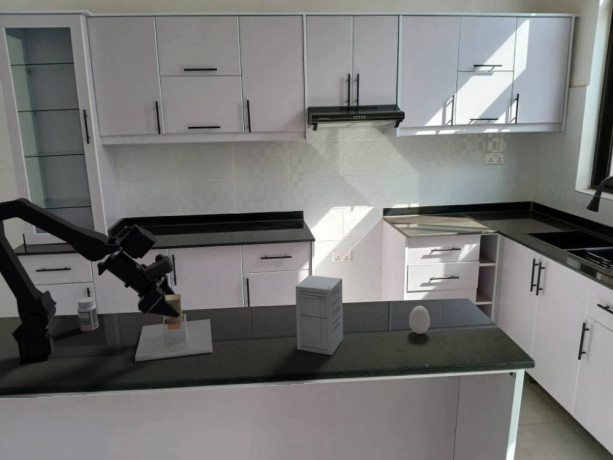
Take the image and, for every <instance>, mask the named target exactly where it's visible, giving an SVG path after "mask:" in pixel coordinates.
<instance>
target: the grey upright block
mask: <svg viewBox="0 0 613 460" xmlns="http://www.w3.org/2000/svg"><path fill="white" fill-rule="evenodd" d="M295 306H296V307H295V312H296V313H295V315H296V347H297V350H300V351H304V352H305V351H306V352H310V353H319V354H322V355H323V354H324V355H330V356H332V355H333V354H334V352H335V351H337V348H338V347H339V345H340V344H341V343H342V341H344V331H343V330H344V329H343V325H344V324H343V323H344V322H343V316H344V315H343V310H344V309H343V278H339V277H329V276H323V275H310V274H309V275H308V276H306V277H305V278H303V280H301V281H300V282H299V283H297V285H296V286H295Z"/></svg>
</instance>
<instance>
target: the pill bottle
mask: <svg viewBox="0 0 613 460" xmlns="http://www.w3.org/2000/svg"><path fill="white" fill-rule="evenodd" d="M77 305H78V307H77V315H78V323H79V324H78V325H79V329H80V331H82V332H89V331H94V330H96V329H97V328H99V320H98V319H99V318H98V310H97V305H96V304H95V299H94V297H88V296H87V297H81V298H80V299H78V300H77Z"/></svg>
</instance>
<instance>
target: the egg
mask: <svg viewBox="0 0 613 460" xmlns="http://www.w3.org/2000/svg"><path fill="white" fill-rule="evenodd" d="M408 320H409V321H408V324H409V327H410V329H411V330H412V331H413V332H414V334H415V333H416V334H418V335H421V334H425V332H427V331H428V329H429V327H430V324H431V317H430V313H429V312H428V310H427V308H425V307H424V306H422V305H417V306H414V307H413V309H412V310H411V312H410V314H409V317H408Z"/></svg>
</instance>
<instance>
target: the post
mask: <svg viewBox="0 0 613 460" xmlns="http://www.w3.org/2000/svg"><path fill="white" fill-rule="evenodd" d="M165 297H166V300H167V301H168V302H169V303H170V304H171V305H172V306H173V307H174V308H175V309H176V310H177V312H178V313H179V314H180V315H179V317H178V318H175V317H170V316H166V323H176V322H183V317H182V314H183V309H182V308H183V307H182V297H181V293H178V294H177V293H175V295H165Z"/></svg>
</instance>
